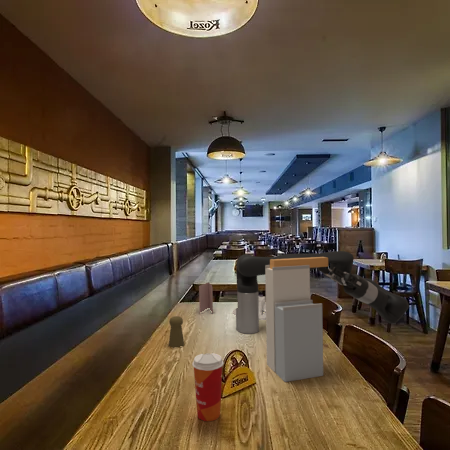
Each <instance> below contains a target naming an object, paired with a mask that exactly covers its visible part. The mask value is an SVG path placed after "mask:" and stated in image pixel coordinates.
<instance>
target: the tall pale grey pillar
mask: <svg viewBox="0 0 450 450" xmlns="http://www.w3.org/2000/svg"><path fill="white" fill-rule="evenodd" d="M310 273H311V271H310V265H302V266H285V267H272V269H270V265H265V303H266V320H265V322H266V323H265V325H266V327H265V329H266V330H265V331H266V333H265V334H266V337H265V339H266V341H265V342H266V366H268V367H269V368H270V370H272V372H274V373H276V342H275V303H281V302H292V301H303V300H311V279H310V278H311V274H310Z"/></svg>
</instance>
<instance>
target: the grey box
mask: <svg viewBox="0 0 450 450" xmlns="http://www.w3.org/2000/svg"><path fill="white" fill-rule="evenodd" d="M323 329H324V328H323V303H313V299H310V300H303V301H292V302H281V303H275V342H276V372H275V374H276V375H277V376H278V377H279V378H280V380H282V381H283V382H284V383H286V382H294V381H299V380H305V379H310V378H312V379H313V378H317V377H323V376H324V344H323V343H324V339H323V337H324V336H323V333H324V332H323Z"/></svg>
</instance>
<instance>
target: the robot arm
mask: <svg viewBox="0 0 450 450" xmlns="http://www.w3.org/2000/svg"><path fill="white" fill-rule="evenodd" d="M311 257H327V258H328V265H329V264H330V265H329V266H330V267H329V268H328V267H313V268H310V272H312V271H313V270H315V269H317V271H319V272H321V273H323V276H324V277H327V278H329V279H330V280H331V281H333V282H335V283H337V284H339V285H341V286H343V292H344V293H346V294H347V295H349V296H351V297H353V298H354V299H356V300H357V301H359V302H361V303H364V304H366V305H368V307H370V308H372V309H373V310H375V311H376V313H378V315H379V316H380V317H381V318H382V319H383V320H384V321H385V322H387V323H389V324H397V323H398V321H399V320H401V318H403V316H404V315H405V313H406V312H407V311H408V309H409V307H410V305H409V302H408V300H407V299H406V298H404V297H403V296H400V295H398V294H396V293H392V292H390V291H388V290H387V289H385V288H383V287H382V286H381V285H380V284H378V283H377V282H376V281H374V280H373V279H370V278H367V277H362V276H360V275H359V274H356V273H354V274H353V272H352V271H353V265H354V260H355V257H354V255H353V254H352V253H351V252H348V251H346V250H345V251H343V250H337V251H336V250H333V251H327V252H317V253H315V252H314V253H286V254H280V255H276V256H270V257H269V256H268V257H267V256H266V257H265V256H255V255H253V254H252V255H251V254H249V253H246V254H242V255H240V256H239V257H238V258H237V260H236V265H235V266H236V267H235V269H236V272H235V273H236V291H237V307H236V308H235V309H236V316H235V330H236V331H238V332H239V333H242V334H257V333H258V332H260V320H259V297H258V296H259V283H258V276H264V275H265V265H270V259H290V258H311Z"/></svg>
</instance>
